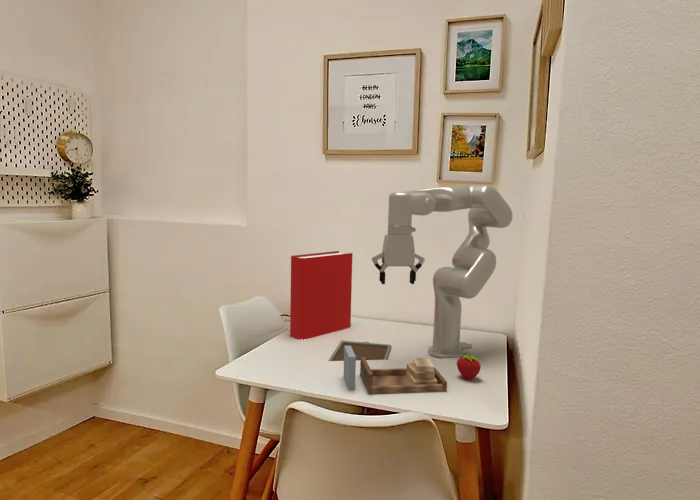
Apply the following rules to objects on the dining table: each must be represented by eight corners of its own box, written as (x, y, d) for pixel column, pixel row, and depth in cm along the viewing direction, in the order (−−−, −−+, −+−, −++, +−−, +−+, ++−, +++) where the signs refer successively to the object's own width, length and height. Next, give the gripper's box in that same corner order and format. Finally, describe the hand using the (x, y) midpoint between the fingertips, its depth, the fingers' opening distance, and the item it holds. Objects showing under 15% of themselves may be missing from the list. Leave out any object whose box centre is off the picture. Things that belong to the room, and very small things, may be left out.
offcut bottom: (427, 376, 150) (428, 369, 150) (437, 388, 141) (437, 380, 141) (406, 376, 149) (406, 370, 149) (414, 388, 140) (414, 381, 140)
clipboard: (324, 365, 157) (342, 338, 186) (324, 370, 157) (342, 342, 187) (383, 370, 154) (392, 342, 183) (383, 375, 154) (391, 346, 183)
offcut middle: (424, 369, 150) (425, 362, 149) (434, 379, 142) (435, 372, 142) (406, 370, 148) (406, 363, 148) (415, 380, 141) (415, 373, 140)
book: (337, 323, 211) (339, 250, 207) (350, 327, 205) (352, 252, 201) (288, 335, 191) (289, 256, 187) (301, 340, 186) (302, 258, 182)
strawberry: (460, 376, 154) (462, 345, 153) (483, 382, 149) (485, 351, 148) (452, 381, 149) (453, 350, 148) (474, 388, 145) (476, 356, 143)
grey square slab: (349, 380, 148) (350, 345, 147) (354, 393, 139) (355, 356, 137) (343, 380, 148) (344, 345, 147) (347, 394, 138) (348, 357, 137)
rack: (431, 376, 153) (432, 355, 152) (446, 395, 139) (447, 372, 138) (359, 378, 149) (360, 357, 149) (368, 398, 136) (368, 374, 135)
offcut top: (428, 364, 148) (429, 358, 148) (433, 373, 141) (433, 366, 141) (412, 364, 148) (412, 358, 147) (416, 373, 141) (416, 366, 140)
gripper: (422, 230, 159) (419, 281, 162) (370, 229, 157) (369, 281, 159) (429, 232, 152) (426, 285, 154) (375, 231, 150) (373, 286, 152)
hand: (397, 283), depth 157 cm, fingers open, 9 cm apart
